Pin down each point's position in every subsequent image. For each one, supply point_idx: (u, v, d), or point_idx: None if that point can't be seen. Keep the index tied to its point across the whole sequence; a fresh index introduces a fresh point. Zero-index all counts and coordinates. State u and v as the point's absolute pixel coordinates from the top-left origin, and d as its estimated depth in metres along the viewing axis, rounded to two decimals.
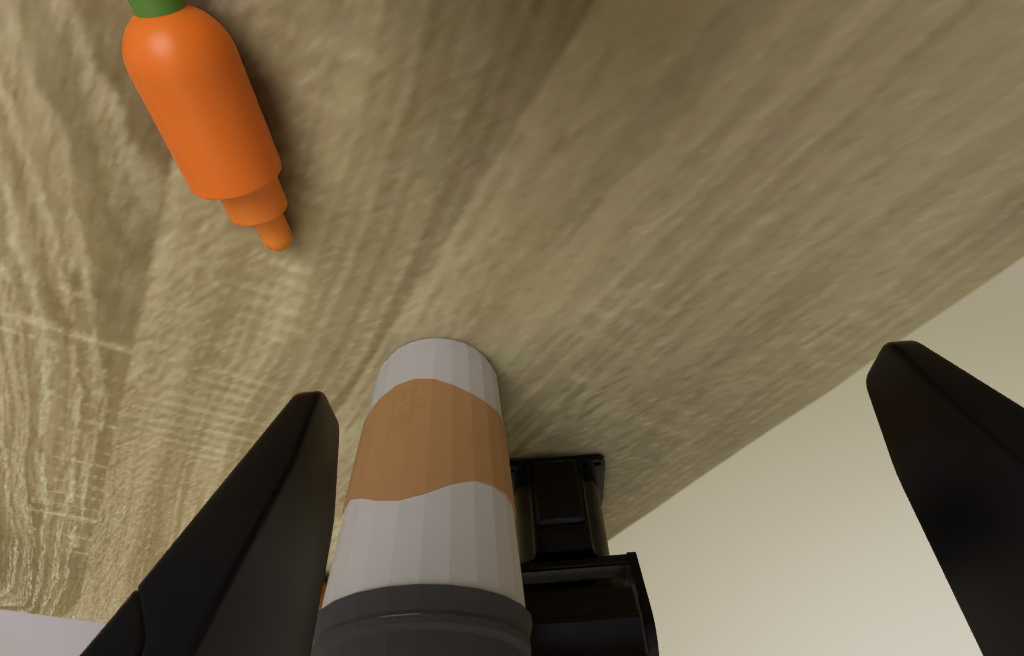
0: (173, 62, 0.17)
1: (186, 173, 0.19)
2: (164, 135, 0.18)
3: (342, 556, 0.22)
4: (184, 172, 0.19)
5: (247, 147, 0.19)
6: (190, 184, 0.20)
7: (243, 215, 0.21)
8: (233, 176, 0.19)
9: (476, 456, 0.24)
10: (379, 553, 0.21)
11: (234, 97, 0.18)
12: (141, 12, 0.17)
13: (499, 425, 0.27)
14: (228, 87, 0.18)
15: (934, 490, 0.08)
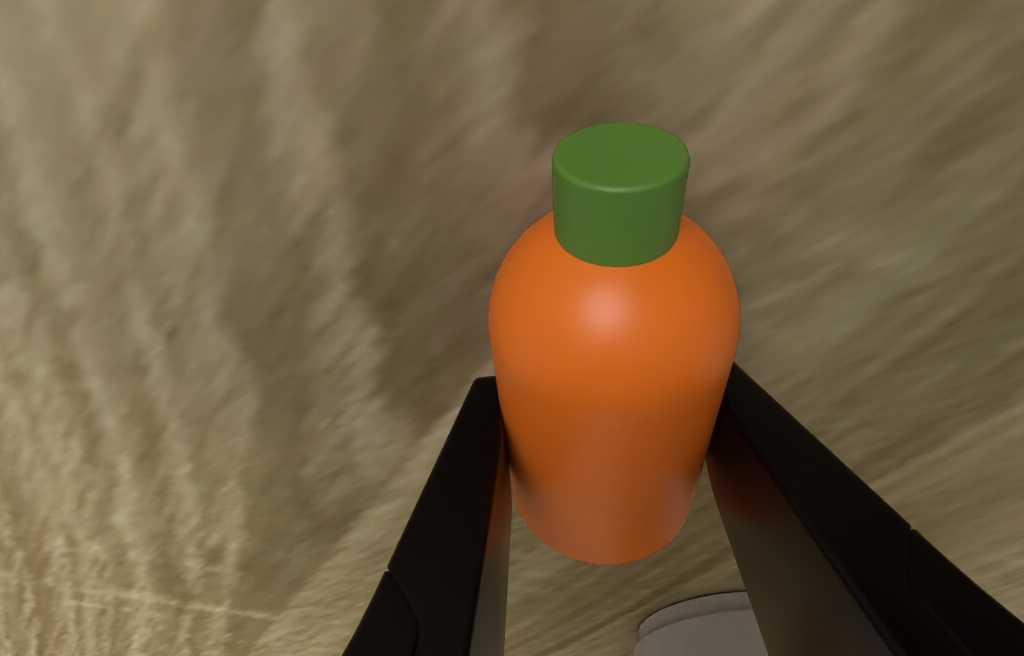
0: (671, 379, 0.06)
1: (552, 524, 0.09)
2: (542, 476, 0.08)
3: None
4: (546, 520, 0.09)
5: (696, 479, 0.09)
6: (546, 533, 0.09)
7: None
8: (656, 533, 0.09)
9: None
10: None
11: (720, 401, 0.08)
12: (601, 254, 0.06)
13: None
14: (724, 389, 0.08)
15: (733, 506, 0.08)
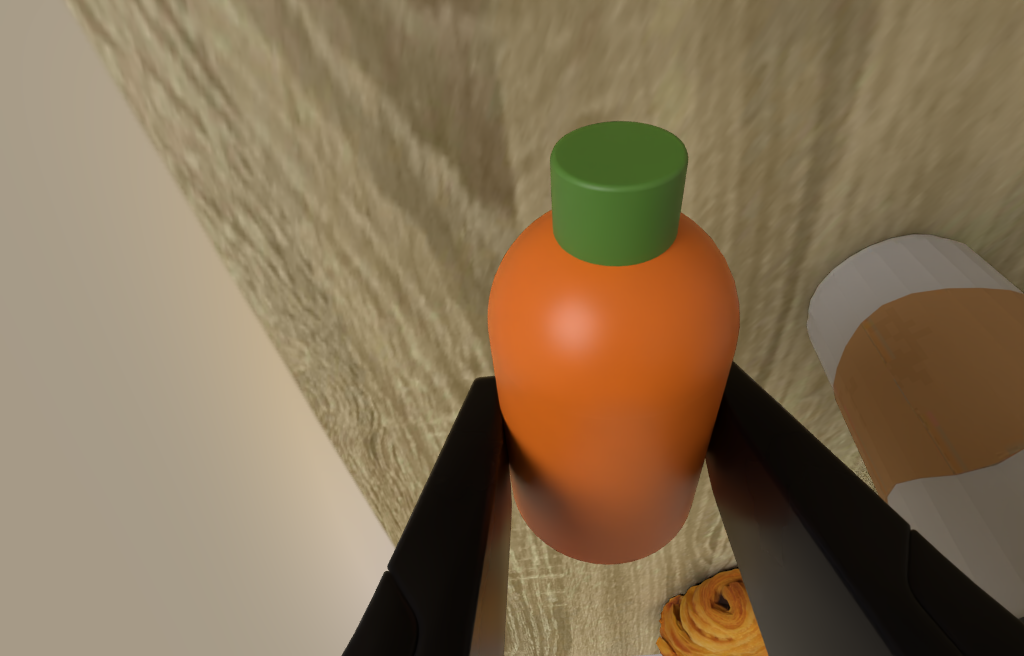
0: (670, 378, 0.06)
1: (553, 524, 0.09)
2: (542, 475, 0.08)
3: None
4: (546, 520, 0.09)
5: (696, 478, 0.09)
6: (547, 533, 0.09)
7: None
8: (656, 533, 0.09)
9: None
10: None
11: (720, 400, 0.08)
12: (600, 253, 0.06)
13: None
14: (723, 388, 0.08)
15: (733, 506, 0.08)
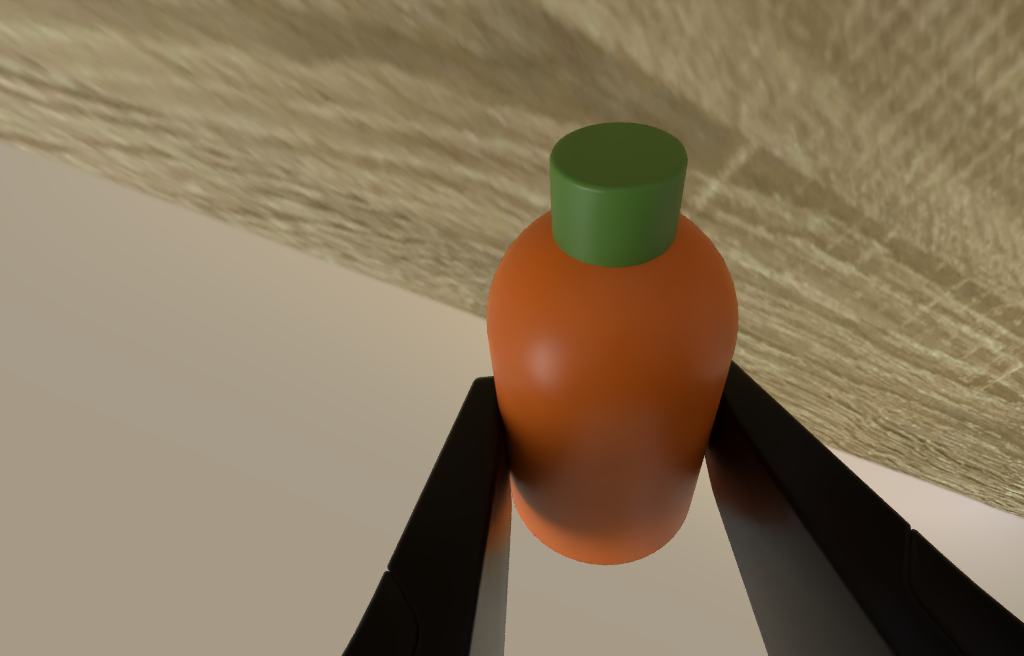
0: (669, 379, 0.06)
1: (551, 525, 0.09)
2: (541, 476, 0.08)
3: None
4: (545, 520, 0.09)
5: (695, 479, 0.09)
6: (545, 534, 0.09)
7: None
8: (655, 534, 0.09)
9: None
10: None
11: (719, 402, 0.08)
12: (599, 254, 0.06)
13: None
14: (722, 389, 0.08)
15: (733, 506, 0.08)
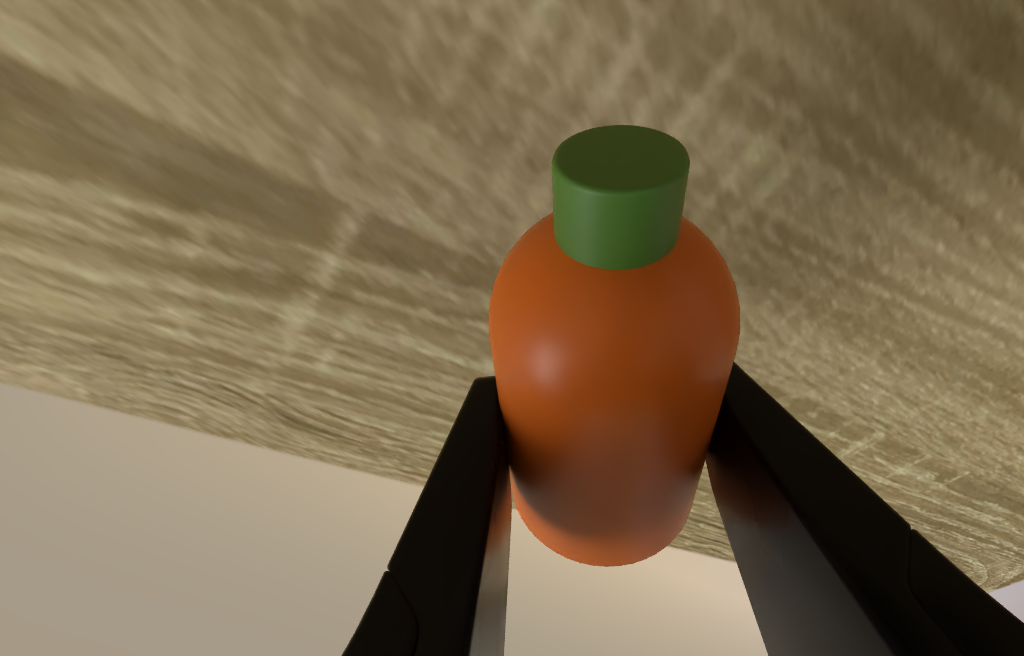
0: (671, 381, 0.06)
1: (553, 526, 0.09)
2: (543, 478, 0.08)
3: None
4: (546, 522, 0.09)
5: (696, 481, 0.09)
6: (547, 535, 0.09)
7: None
8: (656, 535, 0.09)
9: None
10: None
11: (720, 403, 0.08)
12: (602, 257, 0.06)
13: None
14: (724, 391, 0.08)
15: (733, 506, 0.08)
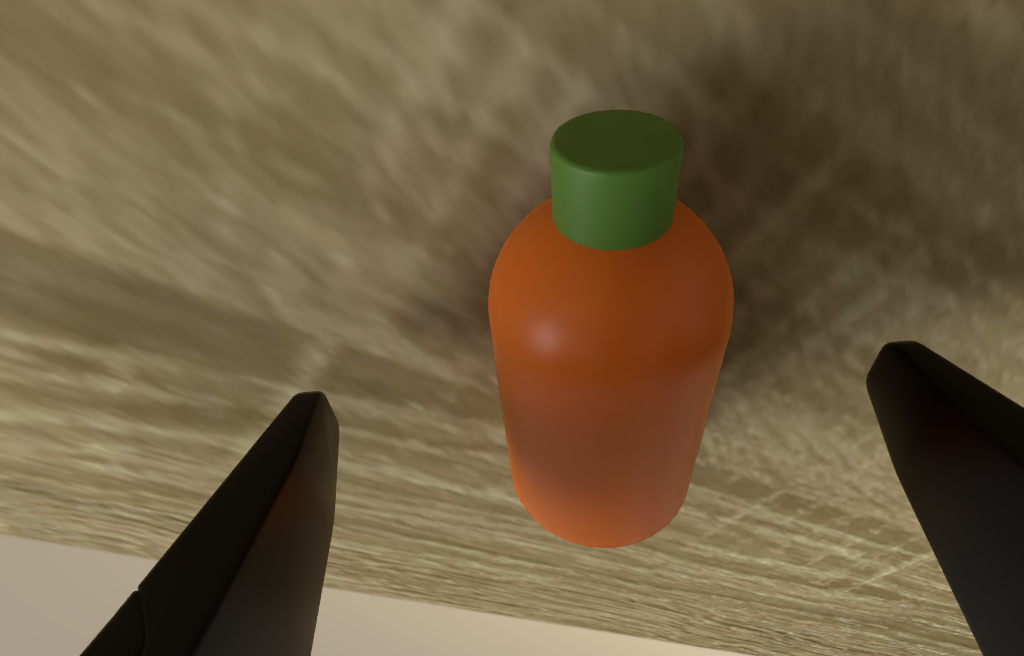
0: (664, 360, 0.07)
1: (550, 507, 0.09)
2: (540, 457, 0.08)
3: None
4: (544, 503, 0.09)
5: (691, 463, 0.09)
6: (544, 516, 0.10)
7: None
8: (652, 517, 0.09)
9: None
10: None
11: (715, 386, 0.08)
12: (597, 237, 0.06)
13: None
14: (718, 373, 0.08)
15: (934, 490, 0.08)
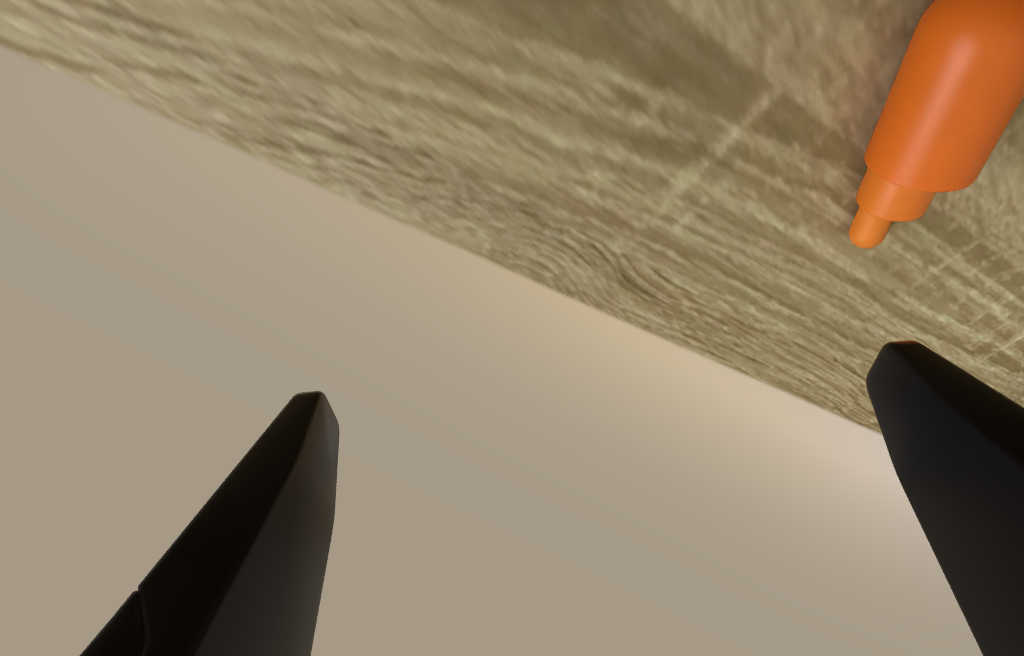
0: None
1: (916, 160, 0.17)
2: (931, 117, 0.17)
3: None
4: (911, 159, 0.18)
5: (999, 137, 0.17)
6: (905, 172, 0.18)
7: (906, 209, 0.19)
8: (972, 168, 0.17)
9: None
10: None
11: None
12: None
13: None
14: None
15: (934, 490, 0.08)
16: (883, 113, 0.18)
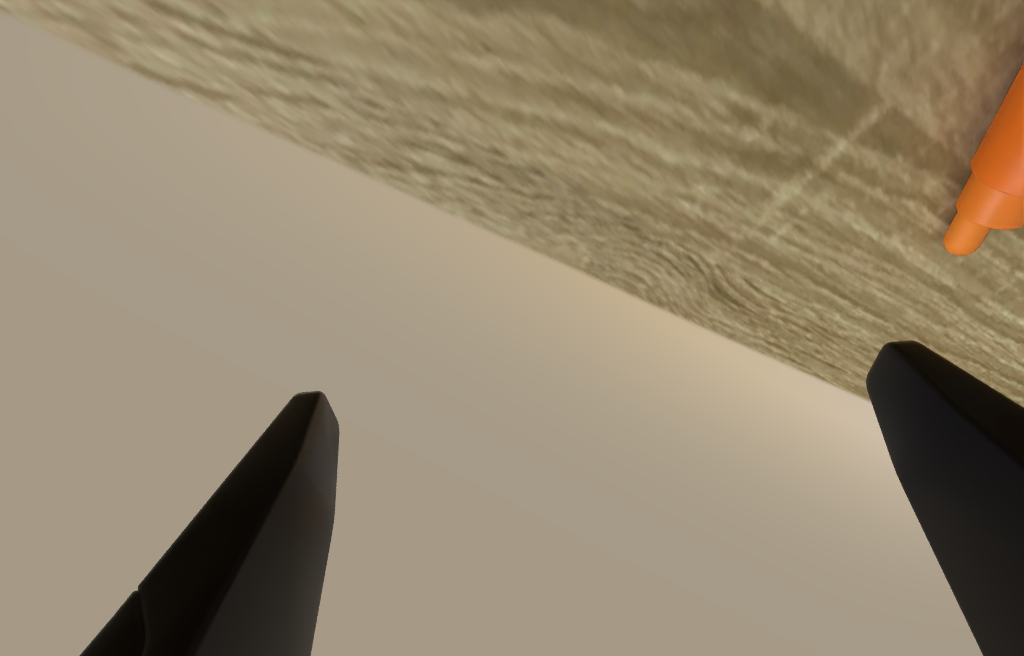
0: None
1: None
2: None
3: None
4: None
5: None
6: (1020, 183, 0.18)
7: (1012, 218, 0.20)
8: None
9: None
10: None
11: None
12: None
13: None
14: None
15: (934, 490, 0.08)
16: (995, 125, 0.19)
